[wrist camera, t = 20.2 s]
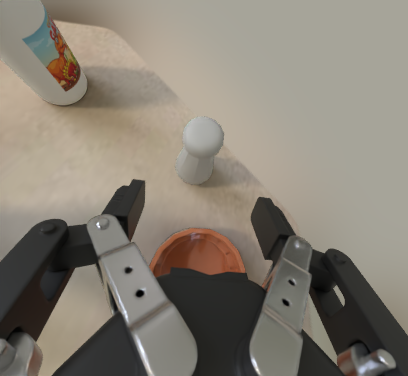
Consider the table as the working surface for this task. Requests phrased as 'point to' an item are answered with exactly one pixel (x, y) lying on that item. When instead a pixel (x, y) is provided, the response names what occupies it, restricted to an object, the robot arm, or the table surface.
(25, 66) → the milk bottle
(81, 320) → the table surface
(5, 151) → the table surface
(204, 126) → the salt shaker
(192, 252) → the bowl
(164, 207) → the table surface
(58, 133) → the table surface
